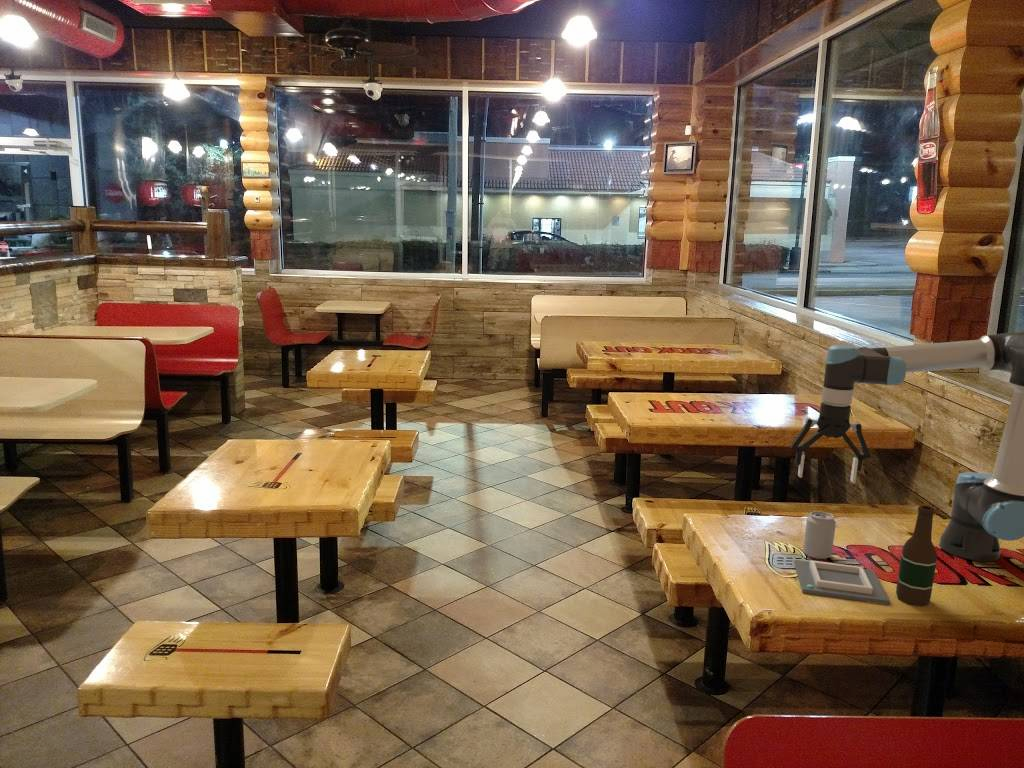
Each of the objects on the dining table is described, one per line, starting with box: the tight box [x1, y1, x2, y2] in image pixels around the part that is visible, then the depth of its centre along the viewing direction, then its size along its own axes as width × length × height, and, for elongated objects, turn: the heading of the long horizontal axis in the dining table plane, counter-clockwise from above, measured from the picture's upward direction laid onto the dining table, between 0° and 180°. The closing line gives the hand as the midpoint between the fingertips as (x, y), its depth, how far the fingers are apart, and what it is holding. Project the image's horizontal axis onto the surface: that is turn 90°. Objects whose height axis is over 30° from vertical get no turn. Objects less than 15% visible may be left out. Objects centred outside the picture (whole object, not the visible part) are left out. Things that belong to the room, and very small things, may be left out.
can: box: [802, 510, 837, 560], centre depth 215 cm, size 8×8×12 cm
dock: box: [793, 559, 891, 605], centre depth 199 cm, size 20×18×2 cm
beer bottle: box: [895, 505, 938, 607], centre depth 189 cm, size 8×8×24 cm
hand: (826, 479), depth 212 cm, fingers open, 13 cm apart
